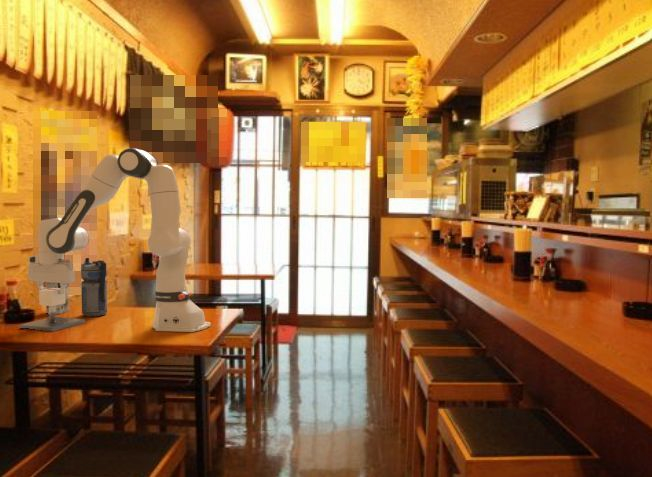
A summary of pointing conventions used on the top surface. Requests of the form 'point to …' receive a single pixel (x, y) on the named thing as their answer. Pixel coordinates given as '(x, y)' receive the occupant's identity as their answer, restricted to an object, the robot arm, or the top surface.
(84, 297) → the beverage bottle
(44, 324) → the post stand
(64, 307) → the coffee box
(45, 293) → the white cube
